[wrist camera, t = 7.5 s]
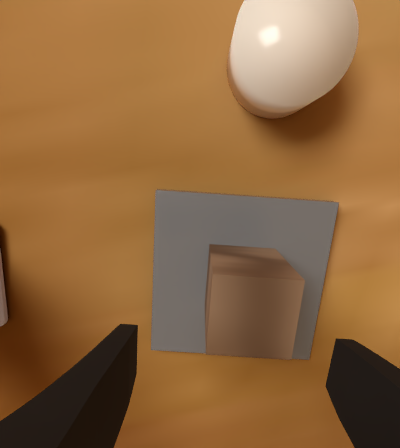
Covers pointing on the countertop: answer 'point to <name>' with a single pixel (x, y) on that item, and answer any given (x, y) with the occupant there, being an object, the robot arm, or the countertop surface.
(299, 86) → the cream egg shape
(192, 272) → the plate
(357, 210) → the countertop surface
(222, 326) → the walnut block
